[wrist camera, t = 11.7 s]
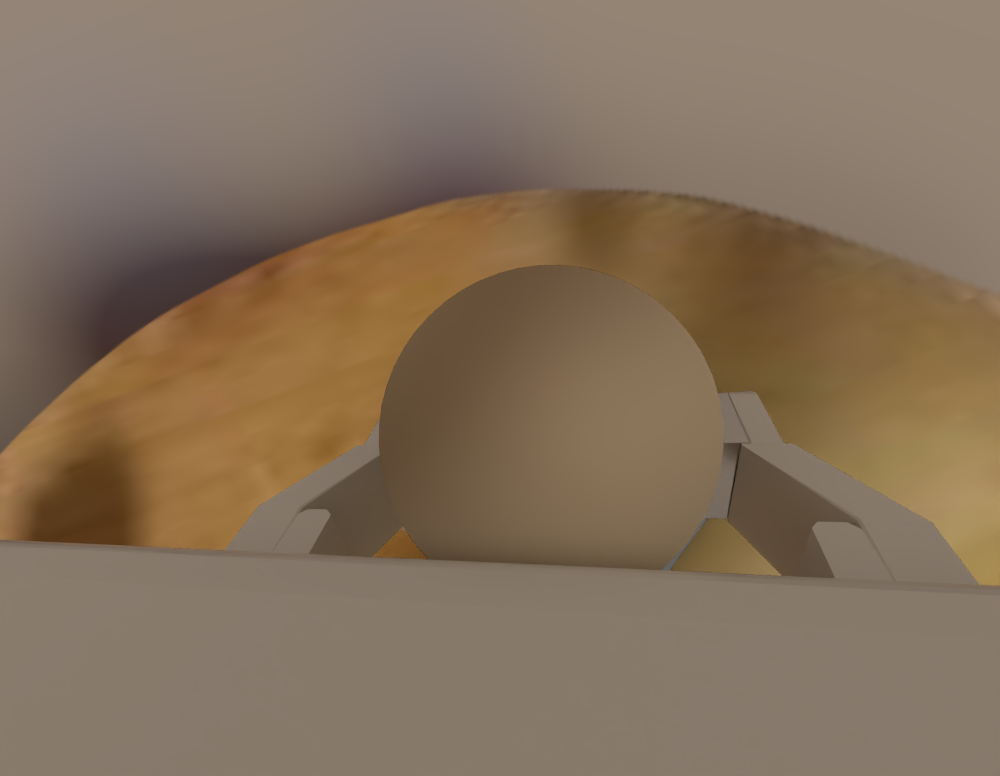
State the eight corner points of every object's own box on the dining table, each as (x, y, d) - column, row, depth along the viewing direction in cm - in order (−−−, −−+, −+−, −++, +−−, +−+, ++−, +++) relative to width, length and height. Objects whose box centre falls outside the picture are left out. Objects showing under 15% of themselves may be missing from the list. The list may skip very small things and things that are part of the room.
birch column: (674, 450, 15) (802, 388, 5) (591, 561, 15) (572, 696, 5) (563, 372, 16) (510, 210, 7) (485, 473, 16) (317, 455, 7)
